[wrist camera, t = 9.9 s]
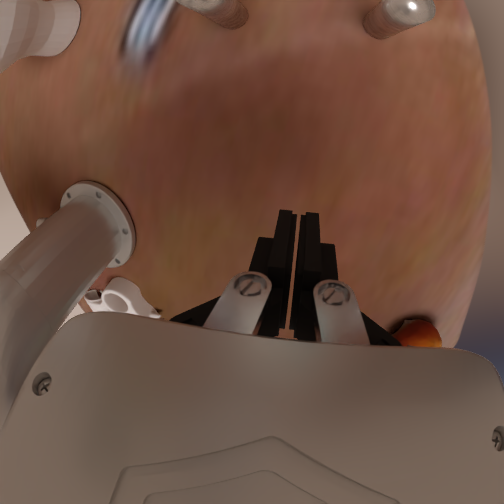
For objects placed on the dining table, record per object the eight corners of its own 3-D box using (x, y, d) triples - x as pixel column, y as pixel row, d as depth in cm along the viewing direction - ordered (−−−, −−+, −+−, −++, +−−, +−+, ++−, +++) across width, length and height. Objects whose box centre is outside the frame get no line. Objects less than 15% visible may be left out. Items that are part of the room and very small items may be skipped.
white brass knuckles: (82, 272, 40) (152, 276, 36) (123, 342, 50) (187, 354, 47) (71, 285, 37) (141, 293, 34) (116, 355, 47) (181, 369, 44)
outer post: (363, 36, 16) (394, 14, 9) (362, 10, 14) (392, -22, 7) (392, 42, 16) (436, 27, 8) (392, 17, 14) (433, -8, 7)
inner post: (218, 30, 18) (172, 9, 10) (218, 5, 16) (173, -24, 9) (248, 28, 17) (216, 2, 10) (248, 2, 16) (216, -33, 9)
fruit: (398, 310, 30) (433, 361, 24) (426, 301, 33) (457, 343, 28) (363, 347, 35) (390, 393, 29) (395, 335, 38) (420, 375, 33)
